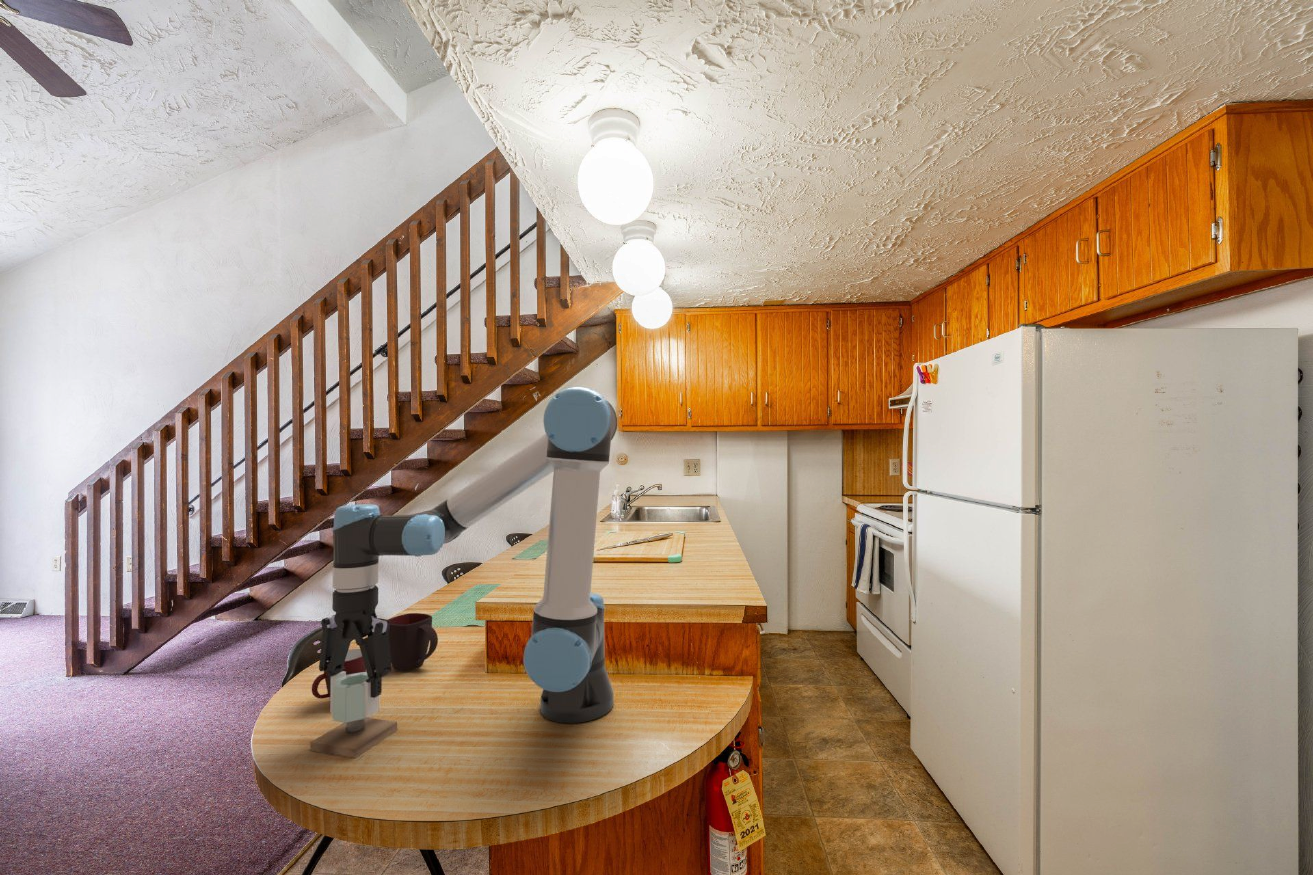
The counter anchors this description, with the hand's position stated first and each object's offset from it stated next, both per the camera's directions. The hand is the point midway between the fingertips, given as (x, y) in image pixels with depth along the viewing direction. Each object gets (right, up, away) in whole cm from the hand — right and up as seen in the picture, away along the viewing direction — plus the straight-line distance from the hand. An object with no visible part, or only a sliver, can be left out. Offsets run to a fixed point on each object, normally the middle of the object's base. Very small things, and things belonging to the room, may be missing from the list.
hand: (354, 711), depth 99 cm
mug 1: (-11, -6, +14) cm, 19 cm away
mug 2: (-4, -7, +34) cm, 35 cm away
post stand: (0, -5, 0) cm, 5 cm away
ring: (0, 0, 0) cm, 0 cm away
